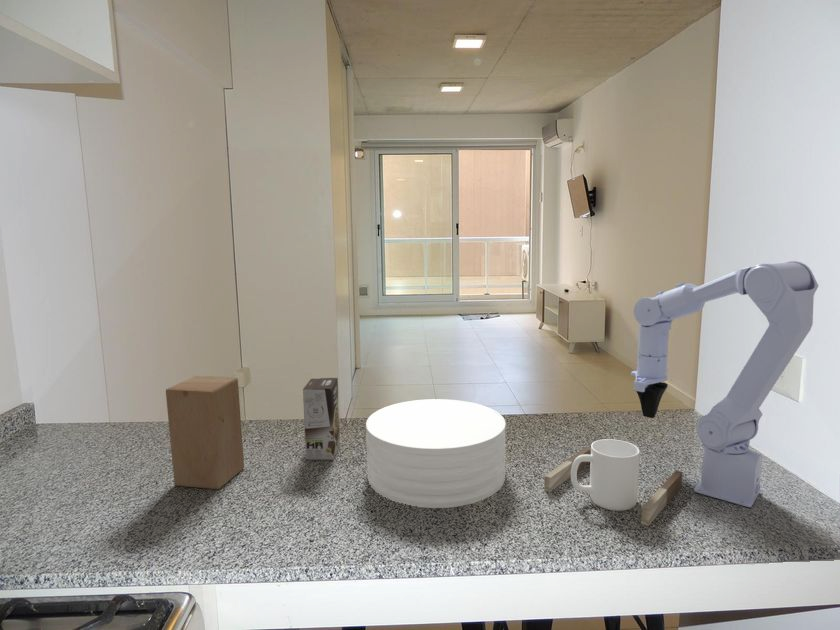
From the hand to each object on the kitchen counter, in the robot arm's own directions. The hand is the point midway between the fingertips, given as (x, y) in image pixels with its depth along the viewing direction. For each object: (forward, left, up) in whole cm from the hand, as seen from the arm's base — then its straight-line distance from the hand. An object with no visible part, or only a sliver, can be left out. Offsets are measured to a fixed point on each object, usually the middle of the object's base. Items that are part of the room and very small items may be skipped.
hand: (649, 416), depth 117 cm
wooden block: (+65, +65, -10) cm, 92 cm away
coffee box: (+57, +42, -10) cm, 71 cm away
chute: (0, +18, -9) cm, 20 cm away
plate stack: (+30, +34, -10) cm, 47 cm away
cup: (0, +23, -10) cm, 25 cm away
